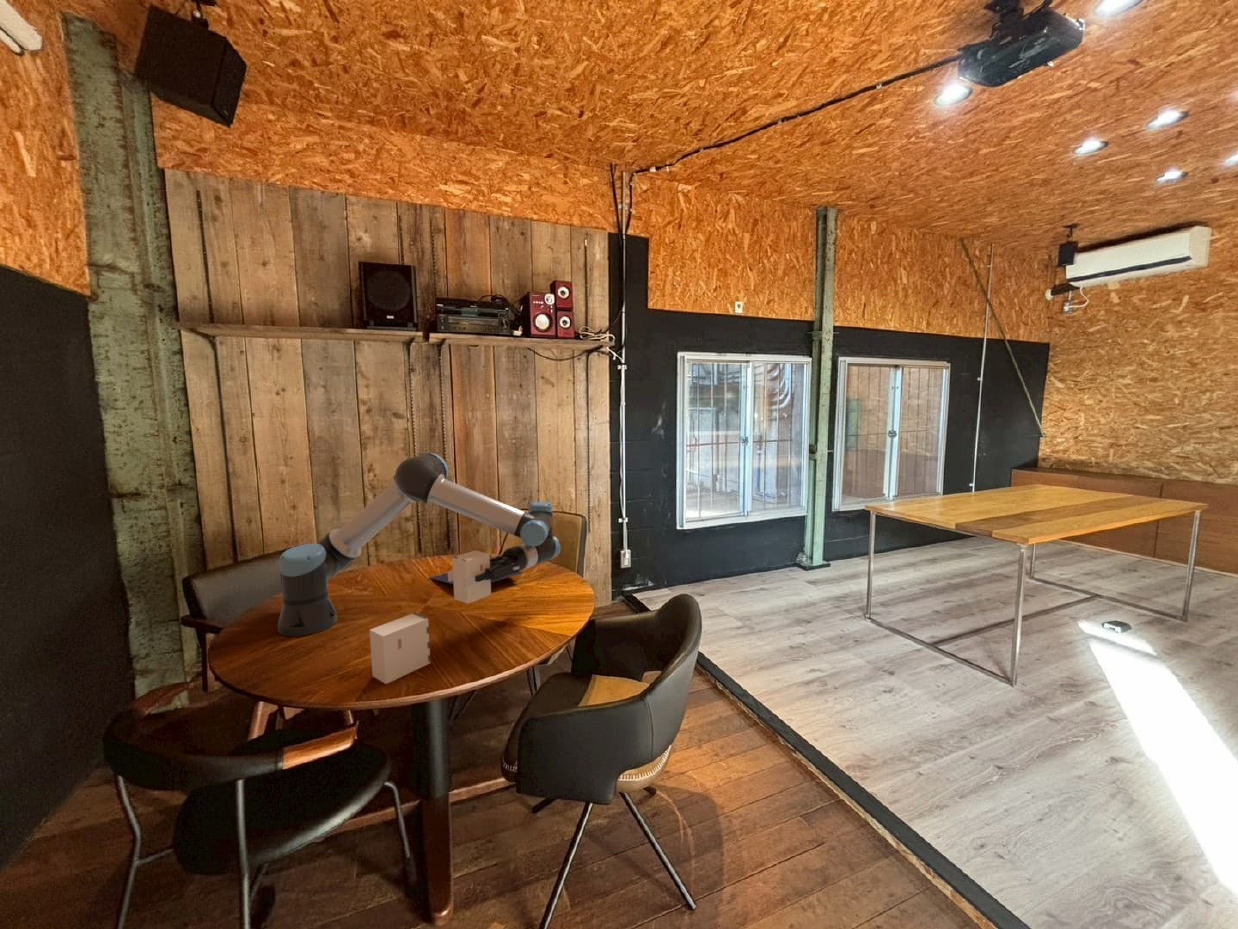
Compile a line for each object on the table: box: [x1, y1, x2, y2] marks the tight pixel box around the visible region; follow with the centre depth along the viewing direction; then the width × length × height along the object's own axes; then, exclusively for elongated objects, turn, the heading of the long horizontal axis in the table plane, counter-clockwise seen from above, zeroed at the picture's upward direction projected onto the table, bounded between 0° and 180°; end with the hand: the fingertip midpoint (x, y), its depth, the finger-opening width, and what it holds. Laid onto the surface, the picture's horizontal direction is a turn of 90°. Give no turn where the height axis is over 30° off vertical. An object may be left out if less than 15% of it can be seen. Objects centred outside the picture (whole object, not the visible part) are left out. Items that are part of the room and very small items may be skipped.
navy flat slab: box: [430, 571, 524, 585], centre depth 192 cm, size 24×30×4 cm
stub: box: [451, 550, 492, 605], centre depth 145 cm, size 6×8×12 cm
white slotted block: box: [369, 612, 431, 685], centre depth 128 cm, size 6×12×12 cm, turn 144°
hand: (456, 579), depth 140 cm, fingers closed on stub, 6 cm apart
